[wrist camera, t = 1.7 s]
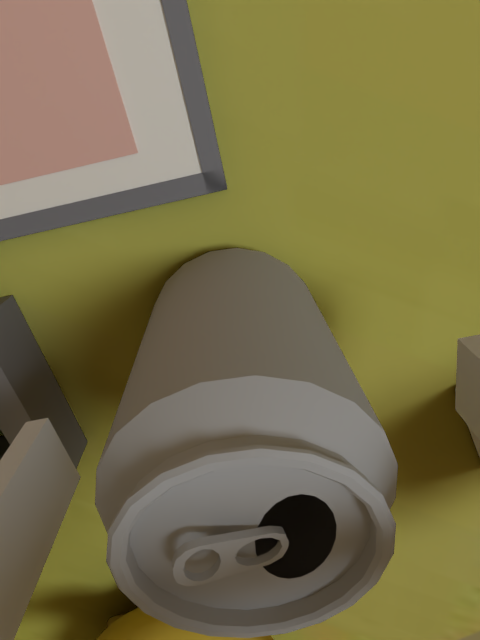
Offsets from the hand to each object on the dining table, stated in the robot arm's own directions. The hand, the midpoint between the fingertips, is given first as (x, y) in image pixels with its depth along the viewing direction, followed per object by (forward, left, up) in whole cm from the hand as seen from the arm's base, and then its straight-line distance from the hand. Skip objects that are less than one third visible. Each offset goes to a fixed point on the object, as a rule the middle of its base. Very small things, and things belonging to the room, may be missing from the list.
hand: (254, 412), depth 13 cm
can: (0, 0, -7) cm, 7 cm away
